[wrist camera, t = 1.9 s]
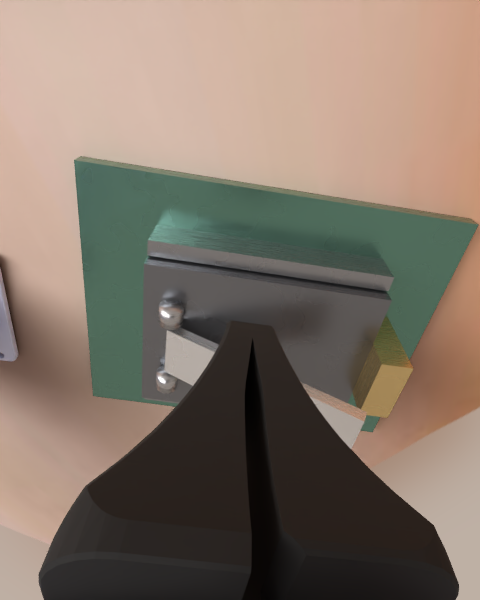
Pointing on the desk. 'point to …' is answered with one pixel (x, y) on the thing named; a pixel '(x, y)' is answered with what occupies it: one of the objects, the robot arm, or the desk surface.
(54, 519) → the desk surface
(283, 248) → the circuit board
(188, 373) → the grey flat bar
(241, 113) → the desk surface
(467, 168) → the desk surface
